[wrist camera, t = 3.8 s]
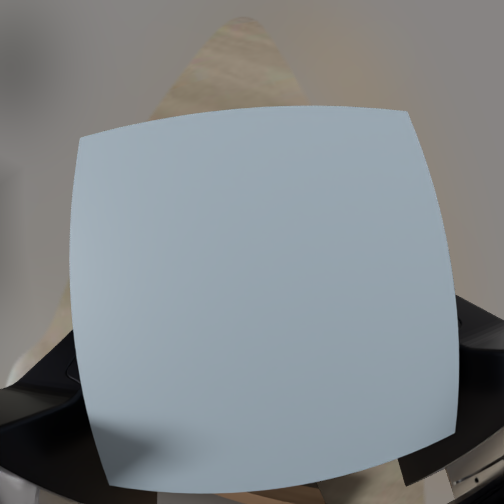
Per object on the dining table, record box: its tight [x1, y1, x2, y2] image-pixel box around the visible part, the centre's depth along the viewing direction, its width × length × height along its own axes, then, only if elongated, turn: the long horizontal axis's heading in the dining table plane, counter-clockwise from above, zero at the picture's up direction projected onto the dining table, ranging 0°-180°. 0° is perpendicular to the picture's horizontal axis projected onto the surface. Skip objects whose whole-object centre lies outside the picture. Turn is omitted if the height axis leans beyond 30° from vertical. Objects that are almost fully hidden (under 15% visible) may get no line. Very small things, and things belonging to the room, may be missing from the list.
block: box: [70, 106, 459, 493], centre depth 9 cm, size 5×5×12 cm
